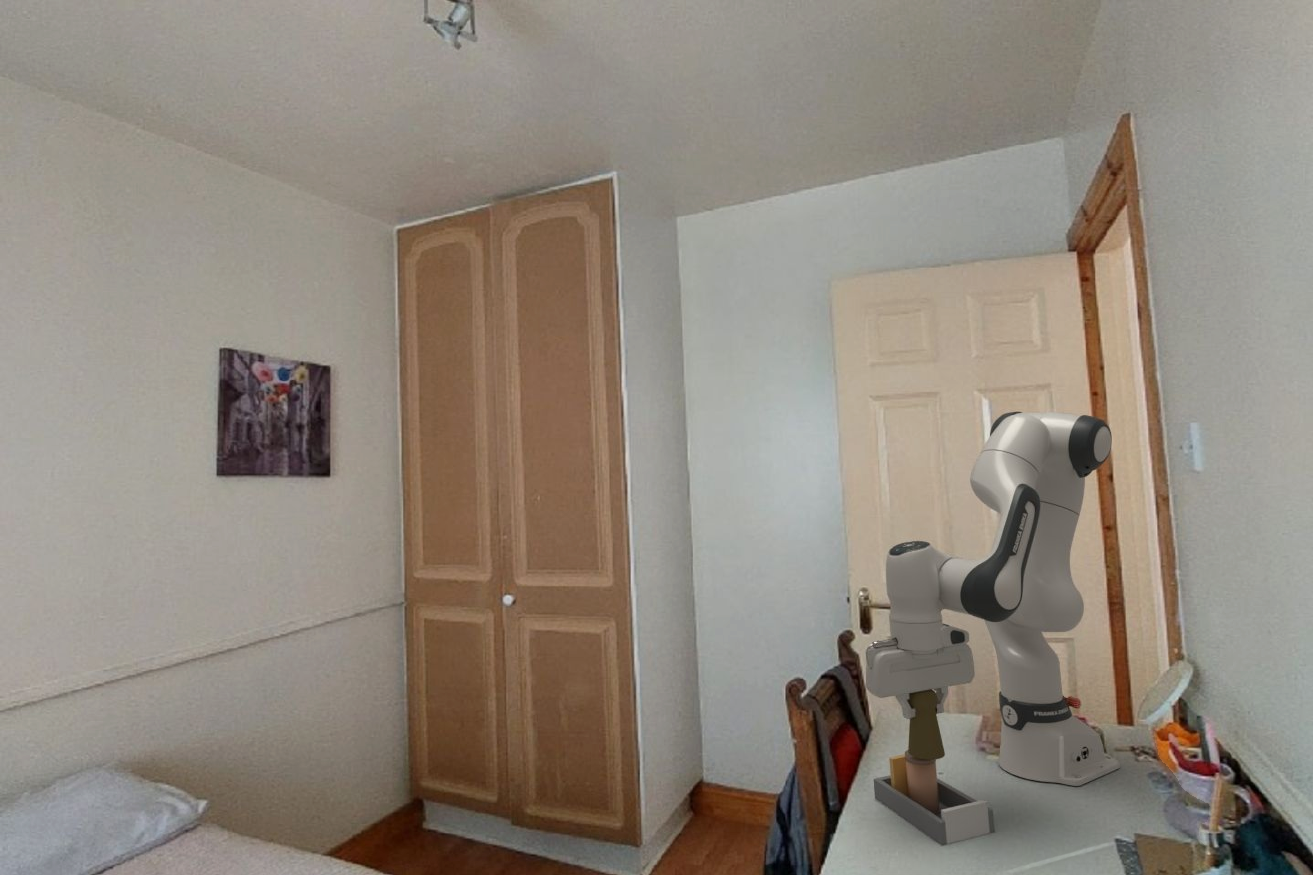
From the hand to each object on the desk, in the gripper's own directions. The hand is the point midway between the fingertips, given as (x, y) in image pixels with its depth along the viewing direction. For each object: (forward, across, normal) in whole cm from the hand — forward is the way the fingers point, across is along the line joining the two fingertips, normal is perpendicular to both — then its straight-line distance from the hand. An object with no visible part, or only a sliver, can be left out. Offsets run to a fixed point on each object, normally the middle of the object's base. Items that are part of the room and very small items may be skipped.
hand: (923, 715), depth 121 cm
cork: (+7, 0, 0) cm, 7 cm away
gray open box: (+18, +1, +1) cm, 18 cm away
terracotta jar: (+17, +1, +3) cm, 18 cm away
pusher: (+18, 0, +6) cm, 19 cm away
